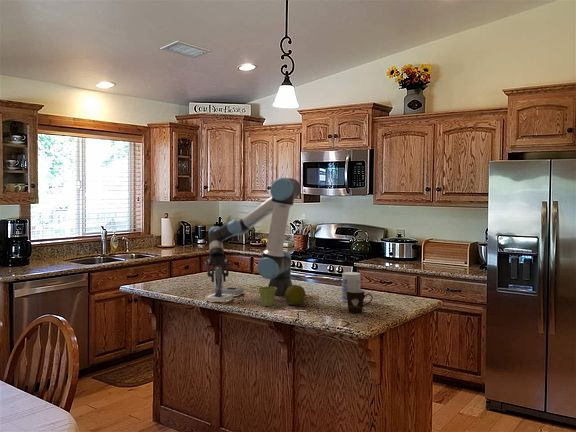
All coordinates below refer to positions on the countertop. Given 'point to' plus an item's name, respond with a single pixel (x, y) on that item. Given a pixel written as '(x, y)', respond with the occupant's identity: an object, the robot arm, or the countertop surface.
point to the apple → (295, 295)
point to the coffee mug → (356, 300)
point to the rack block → (222, 298)
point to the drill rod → (218, 281)
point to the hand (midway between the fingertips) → (219, 286)
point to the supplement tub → (350, 283)
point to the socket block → (232, 290)
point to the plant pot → (267, 295)
